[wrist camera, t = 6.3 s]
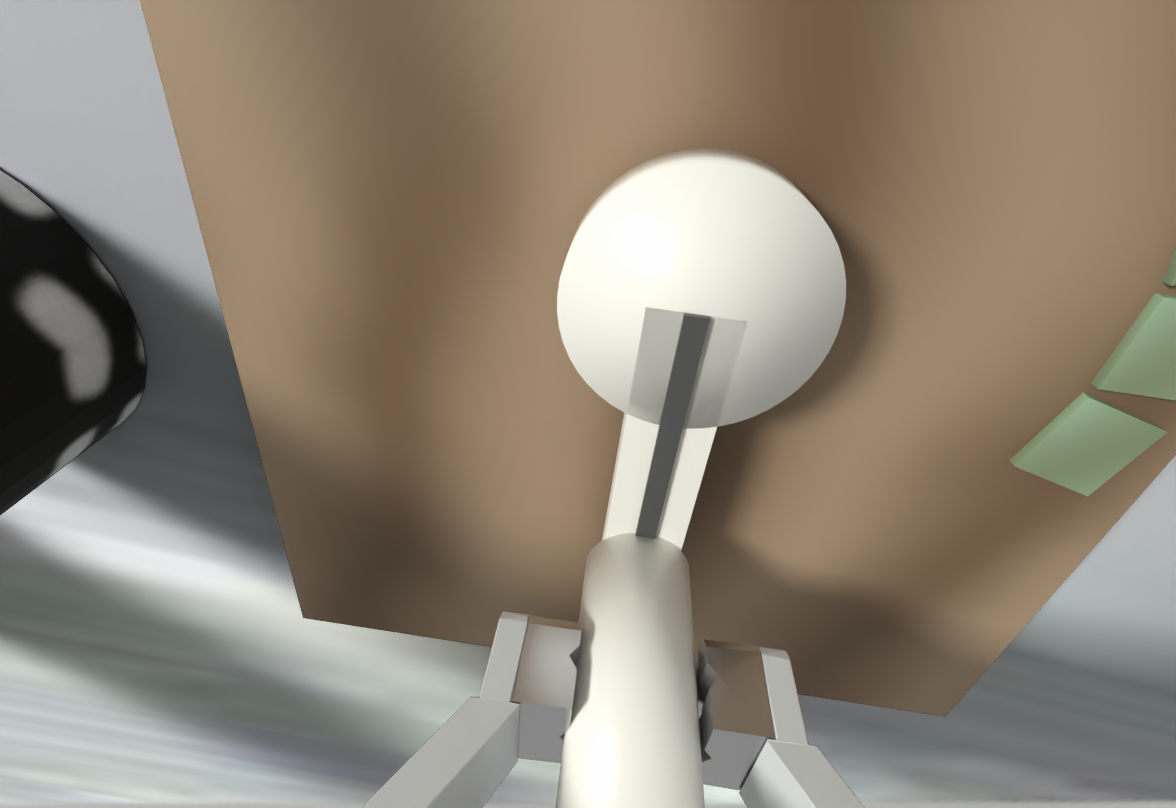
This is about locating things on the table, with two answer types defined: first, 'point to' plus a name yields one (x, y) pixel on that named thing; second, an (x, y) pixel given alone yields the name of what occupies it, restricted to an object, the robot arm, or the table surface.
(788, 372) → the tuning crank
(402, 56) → the dial board
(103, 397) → the spotted tube
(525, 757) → the robot arm
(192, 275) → the table surface
